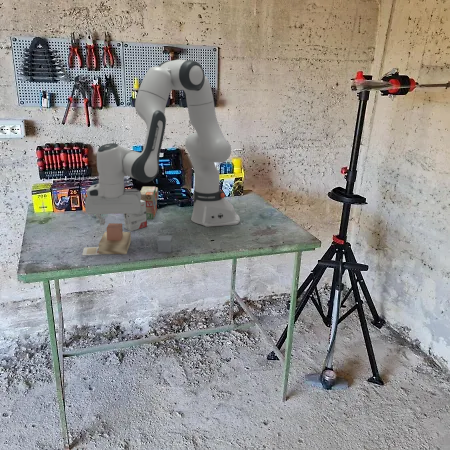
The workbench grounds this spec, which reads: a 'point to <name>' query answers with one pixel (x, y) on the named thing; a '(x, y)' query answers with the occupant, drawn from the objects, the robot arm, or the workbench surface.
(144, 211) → the ink box
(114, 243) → the base brick
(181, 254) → the workbench surface
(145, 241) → the workbench surface
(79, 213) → the workbench surface
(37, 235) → the workbench surface
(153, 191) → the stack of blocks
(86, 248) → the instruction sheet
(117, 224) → the terracotta brick
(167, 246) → the grey brick
